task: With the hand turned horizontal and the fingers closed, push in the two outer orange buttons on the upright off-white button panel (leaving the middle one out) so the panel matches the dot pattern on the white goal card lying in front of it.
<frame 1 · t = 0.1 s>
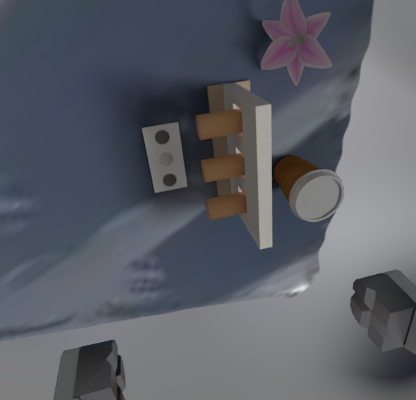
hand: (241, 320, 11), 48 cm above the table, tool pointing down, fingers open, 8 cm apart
lily: (281, 38, 54), on the table
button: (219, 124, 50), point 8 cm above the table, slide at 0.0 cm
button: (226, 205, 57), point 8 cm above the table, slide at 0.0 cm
panel: (232, 146, 61), on the table
button middle: (223, 167, 53), point 8 cm above the table, slide at 0.0 cm
goal card: (165, 158, 59), on the table
disposable coffee cup: (288, 170, 66), on the table
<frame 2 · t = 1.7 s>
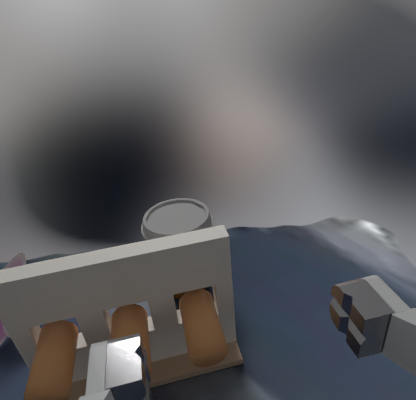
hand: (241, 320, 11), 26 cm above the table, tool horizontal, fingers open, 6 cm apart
lily: (18, 331, 45), on the table
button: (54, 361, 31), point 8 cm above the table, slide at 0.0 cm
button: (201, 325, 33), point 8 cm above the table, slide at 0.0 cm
panel: (143, 360, 40), on the table
button middle: (130, 343, 32), point 8 cm above the table, slide at 0.0 cm
disposable coffee cup: (187, 284, 50), on the table
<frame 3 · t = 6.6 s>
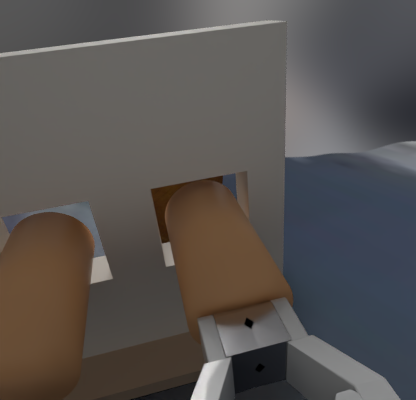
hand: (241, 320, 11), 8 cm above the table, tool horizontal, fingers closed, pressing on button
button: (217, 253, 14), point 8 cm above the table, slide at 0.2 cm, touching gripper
panel: (98, 349, 20), on the table
button middle: (38, 297, 13), point 8 cm above the table, slide at 0.0 cm
disposable coffee cup: (185, 227, 30), on the table
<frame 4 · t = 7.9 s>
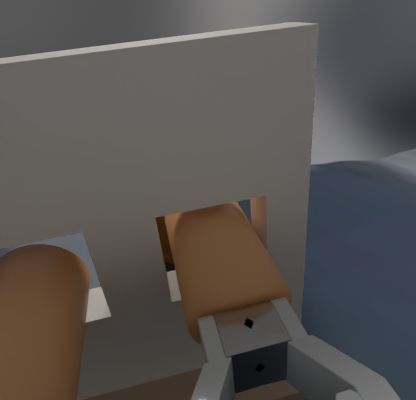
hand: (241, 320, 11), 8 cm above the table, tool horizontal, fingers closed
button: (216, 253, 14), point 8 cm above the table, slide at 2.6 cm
panel: (95, 387, 18), on the table
button middle: (22, 351, 11), point 8 cm above the table, slide at 0.0 cm
disposable coffee cup: (190, 242, 28), on the table
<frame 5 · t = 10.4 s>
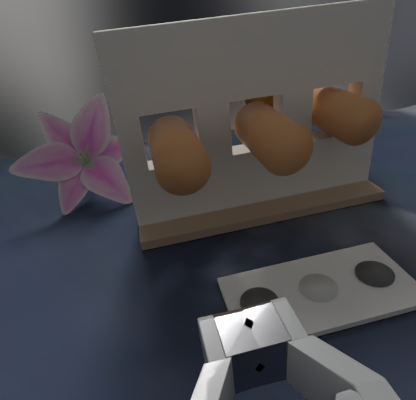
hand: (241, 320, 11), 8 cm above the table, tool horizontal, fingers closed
lily: (94, 196, 38), on the table
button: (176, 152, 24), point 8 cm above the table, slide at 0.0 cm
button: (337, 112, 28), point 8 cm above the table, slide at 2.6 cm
panel: (255, 204, 32), on the table
button middle: (269, 135, 25), point 8 cm above the table, slide at 0.0 cm
goal card: (317, 292, 22), on the table
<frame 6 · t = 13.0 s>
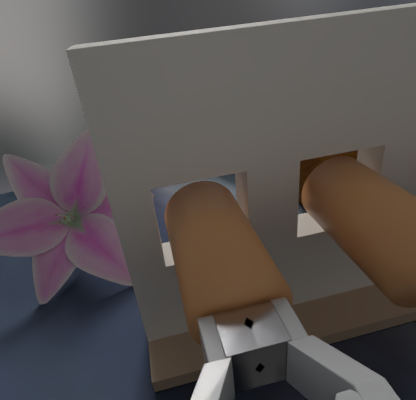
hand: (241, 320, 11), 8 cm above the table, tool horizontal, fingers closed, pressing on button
lily: (85, 267, 27), on the table
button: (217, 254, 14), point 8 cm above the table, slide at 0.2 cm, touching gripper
panel: (318, 294, 22), on the table
button middle: (373, 221, 15), point 8 cm above the table, slide at 0.0 cm
disposable coffee cup: (329, 197, 33), on the table
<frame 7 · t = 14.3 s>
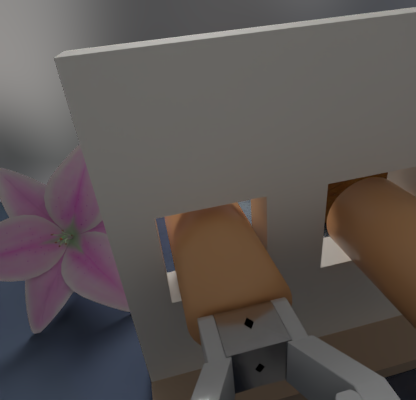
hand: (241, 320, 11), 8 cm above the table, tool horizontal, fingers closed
lily: (83, 289, 25), on the table
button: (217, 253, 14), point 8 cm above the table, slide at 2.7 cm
panel: (339, 324, 20), on the table
disposable coffee cup: (343, 210, 30), on the table
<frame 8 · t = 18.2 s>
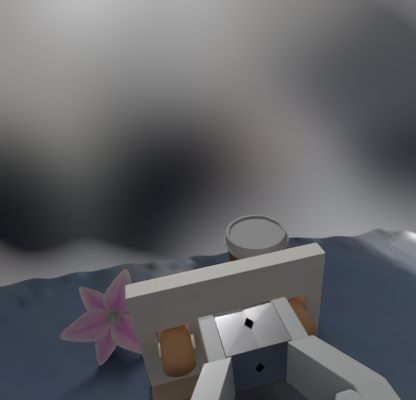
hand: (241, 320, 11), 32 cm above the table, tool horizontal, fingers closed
lily: (119, 340, 50), on the table
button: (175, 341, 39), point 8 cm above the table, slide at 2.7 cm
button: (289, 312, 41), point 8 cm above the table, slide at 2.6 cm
panel: (235, 360, 45), on the table
disposable coffee cup: (257, 291, 55), on the table
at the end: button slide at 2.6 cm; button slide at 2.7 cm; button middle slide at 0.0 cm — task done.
